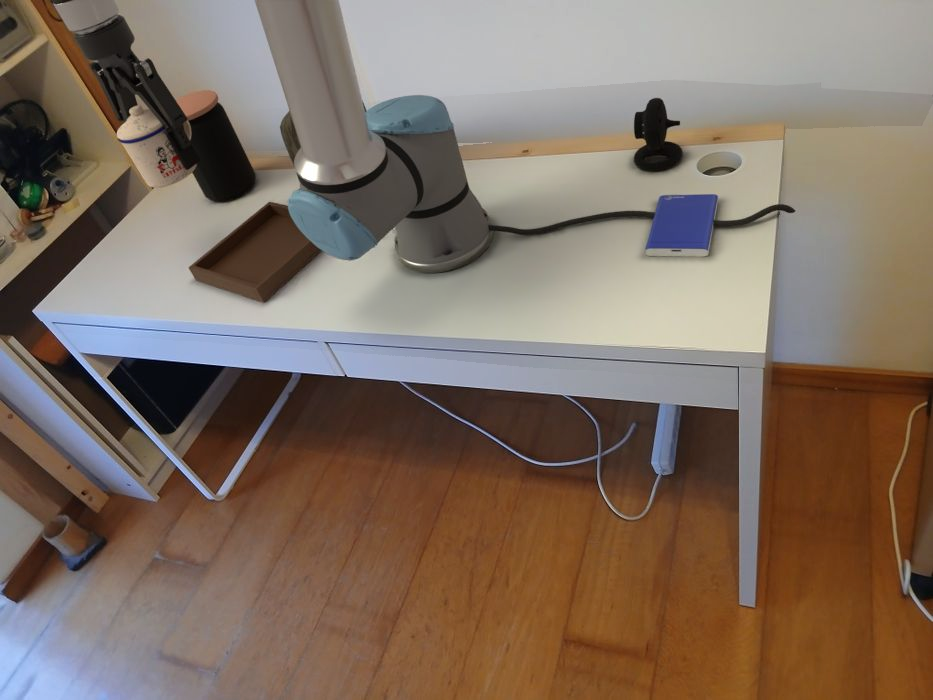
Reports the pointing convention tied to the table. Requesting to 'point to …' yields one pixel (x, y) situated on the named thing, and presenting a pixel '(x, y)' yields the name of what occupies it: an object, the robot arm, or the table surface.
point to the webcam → (655, 137)
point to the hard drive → (682, 225)
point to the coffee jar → (216, 148)
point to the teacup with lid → (152, 148)
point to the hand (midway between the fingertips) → (175, 162)
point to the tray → (257, 255)
